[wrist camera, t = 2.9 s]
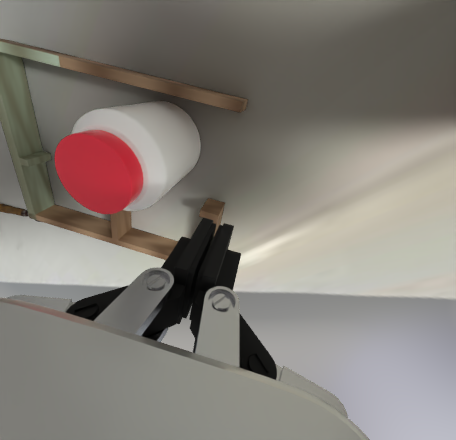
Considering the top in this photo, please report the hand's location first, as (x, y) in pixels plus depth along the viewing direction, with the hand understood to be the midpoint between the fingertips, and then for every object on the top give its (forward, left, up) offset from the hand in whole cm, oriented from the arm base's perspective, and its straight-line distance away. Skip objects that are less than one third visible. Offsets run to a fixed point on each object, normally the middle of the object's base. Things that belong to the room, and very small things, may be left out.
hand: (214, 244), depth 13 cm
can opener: (+31, +16, -14) cm, 37 cm away
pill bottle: (+9, 0, -14) cm, 16 cm away
